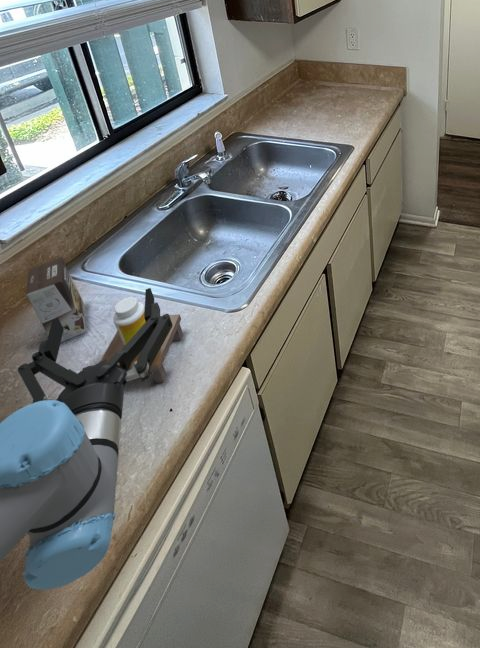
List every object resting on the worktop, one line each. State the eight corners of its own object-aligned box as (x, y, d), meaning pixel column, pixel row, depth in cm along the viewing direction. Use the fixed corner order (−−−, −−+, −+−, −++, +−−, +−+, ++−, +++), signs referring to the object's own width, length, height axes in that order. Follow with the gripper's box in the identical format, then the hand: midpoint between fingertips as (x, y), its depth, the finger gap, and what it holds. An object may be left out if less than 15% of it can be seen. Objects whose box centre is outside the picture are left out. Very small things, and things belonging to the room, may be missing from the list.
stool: (103, 390, 88) (94, 371, 86) (131, 337, 99) (123, 319, 97) (165, 384, 89) (157, 365, 87) (185, 332, 100) (179, 314, 98)
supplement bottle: (159, 334, 93) (147, 300, 89) (134, 355, 89) (119, 320, 84) (144, 322, 96) (131, 289, 91) (118, 343, 91) (103, 308, 87)
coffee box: (86, 332, 101) (62, 281, 94) (52, 346, 97) (24, 295, 91) (86, 305, 108) (63, 255, 101) (54, 318, 104) (28, 267, 97)
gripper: (-20, 494, 55) (24, 353, 72) (195, 401, 65) (189, 297, 82) (-47, 461, 52) (6, 322, 69) (184, 368, 62) (179, 267, 79)
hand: (105, 308), depth 75 cm, fingers open, 13 cm apart
